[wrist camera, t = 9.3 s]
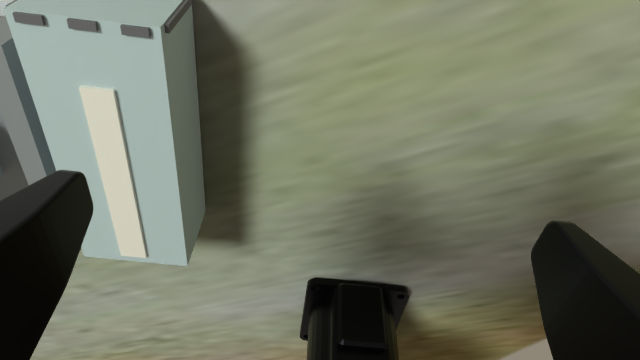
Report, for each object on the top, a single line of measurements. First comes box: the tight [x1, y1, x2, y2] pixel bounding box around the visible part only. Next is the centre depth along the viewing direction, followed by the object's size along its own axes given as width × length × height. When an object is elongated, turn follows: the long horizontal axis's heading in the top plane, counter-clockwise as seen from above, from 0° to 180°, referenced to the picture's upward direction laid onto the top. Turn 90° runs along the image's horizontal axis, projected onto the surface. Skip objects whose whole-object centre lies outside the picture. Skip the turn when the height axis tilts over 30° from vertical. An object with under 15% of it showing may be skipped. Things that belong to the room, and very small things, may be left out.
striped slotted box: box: [3, 0, 206, 266], centre depth 20 cm, size 12×5×4 cm, turn 174°
